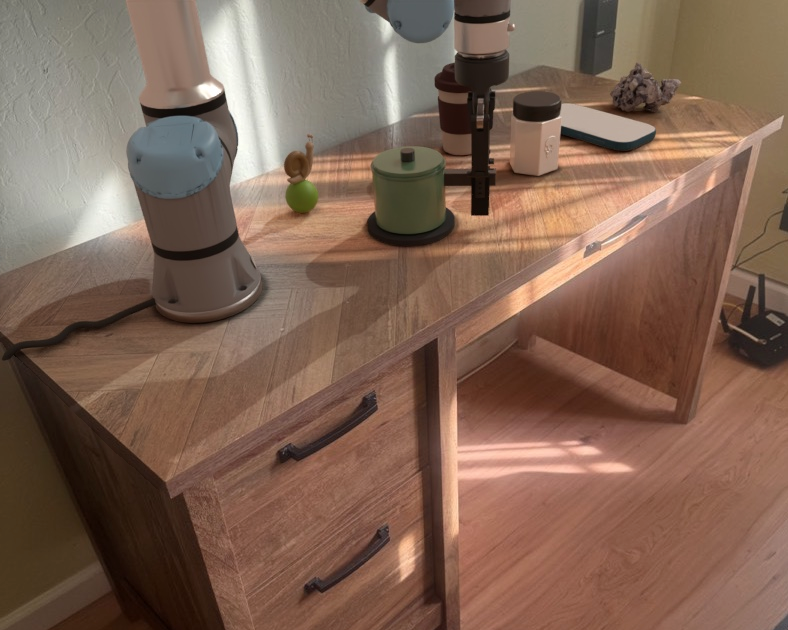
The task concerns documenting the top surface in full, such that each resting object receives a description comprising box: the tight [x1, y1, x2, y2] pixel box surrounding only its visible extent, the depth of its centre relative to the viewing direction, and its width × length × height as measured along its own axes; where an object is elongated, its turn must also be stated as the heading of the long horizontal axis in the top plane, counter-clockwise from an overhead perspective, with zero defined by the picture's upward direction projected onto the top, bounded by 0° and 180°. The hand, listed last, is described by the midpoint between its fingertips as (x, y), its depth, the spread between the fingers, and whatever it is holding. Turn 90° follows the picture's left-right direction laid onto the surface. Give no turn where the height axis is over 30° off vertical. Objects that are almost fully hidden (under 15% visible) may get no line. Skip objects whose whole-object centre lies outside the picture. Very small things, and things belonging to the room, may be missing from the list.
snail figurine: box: [283, 133, 319, 214], centre depth 125 cm, size 5×6×12 cm
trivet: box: [366, 207, 456, 247], centre depth 122 cm, size 14×14×1 cm
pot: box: [369, 145, 497, 234], centre depth 118 cm, size 12×19×11 cm, turn 83°
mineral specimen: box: [609, 61, 682, 113], centre depth 155 cm, size 12×9×10 cm
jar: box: [509, 90, 562, 177], centre depth 134 cm, size 9×8×12 cm
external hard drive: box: [560, 102, 657, 152], centre depth 148 cm, size 24×12×2 cm, turn 40°
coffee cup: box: [433, 61, 473, 156], centre depth 141 cm, size 10×10×15 cm
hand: (480, 210), depth 119 cm, fingers closed on pot, 2 cm apart
